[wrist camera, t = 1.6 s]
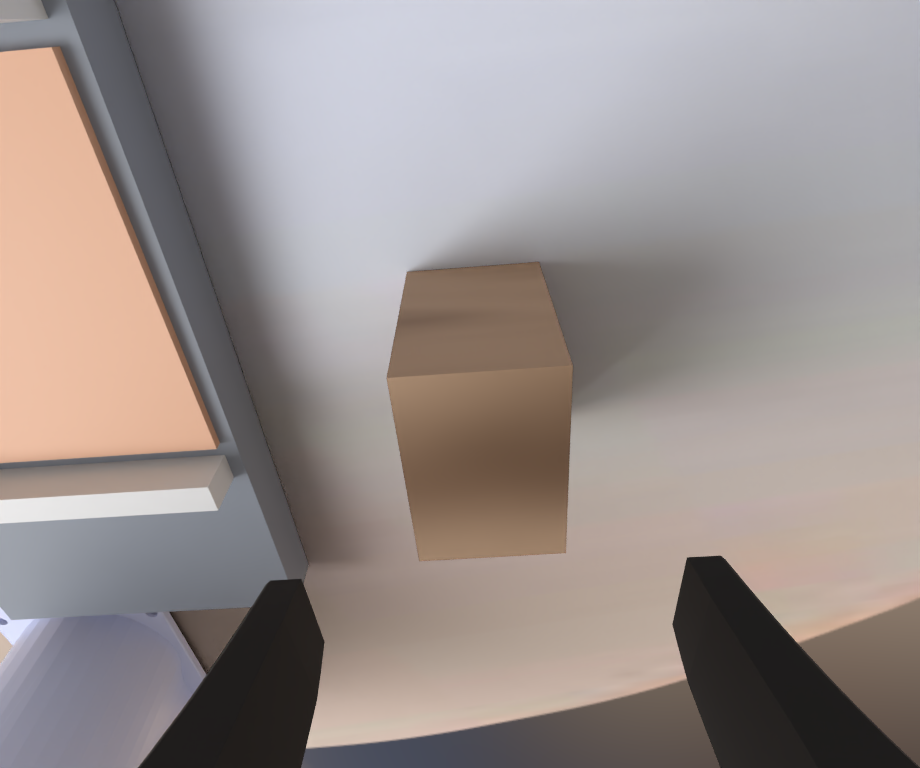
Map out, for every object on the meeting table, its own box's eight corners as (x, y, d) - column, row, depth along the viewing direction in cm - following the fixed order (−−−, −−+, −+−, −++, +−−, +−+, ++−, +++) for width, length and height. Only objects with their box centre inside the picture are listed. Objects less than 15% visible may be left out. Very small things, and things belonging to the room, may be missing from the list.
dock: (308, 564, 24) (288, 638, 22) (41, 579, 25) (-15, 654, 22) (37, -223, 11) (-110, -305, 8) (-521, -159, 12) (-845, -217, 9)
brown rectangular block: (538, 419, 20) (565, 552, 15) (428, 426, 20) (419, 561, 15) (538, 261, 17) (573, 365, 12) (407, 271, 17) (386, 377, 12)
